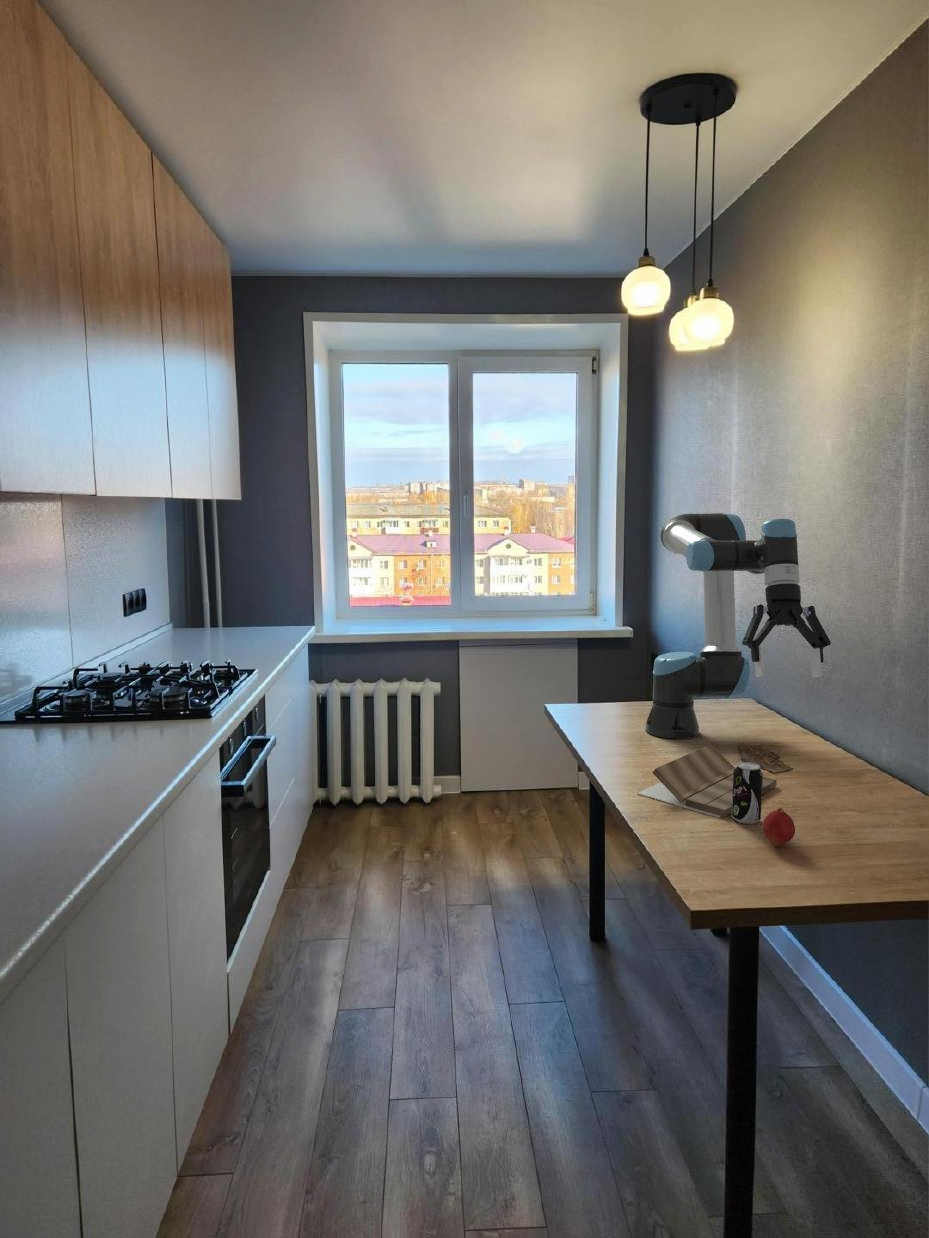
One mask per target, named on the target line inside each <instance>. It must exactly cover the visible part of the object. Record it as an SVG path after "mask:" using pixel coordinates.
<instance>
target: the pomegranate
mask: <svg viewBox="0 0 929 1238" xmlns="http://www.w3.org/2000/svg"><path fill="white" fill-rule="evenodd" d="M761 826H762V827H761V828H762V831H763V834H764V836H765V837H766V839H767V840H768V841H770V842H771V843H772V844H773V845H774V846H775V847H776V848H777V847H778V848H779V847H782V846H784V845H785V844H787V843H789V842H790V841H792V840H793V838H794V837H795V836H796V835H795V834H796V826H795V823H794V821H793V818H792V817H791V816H790V815H789V814H788V813H787V812H785V811H784V809H783V807H782V806H778V807H777V808H776V809H775V810H773V811H770V812H769V813H768V814H767V815H766V816H765V817H764V819H763V821H762V825H761Z"/></svg>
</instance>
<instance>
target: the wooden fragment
mask: <svg viewBox="0 0 929 1238" xmlns="http://www.w3.org/2000/svg"><path fill="white" fill-rule="evenodd" d="M738 748H739V749H738V750H739V757H740V760H742V761H744V762H751V763H755V764H758V765H759V766H760V768H762V769H764V770H766V771H770V772H772V773H773V774H774V775H775V774H783V773H786V772H789V771H791V770H793V767H792V766H789V765H788V764H786V763H784V761H783V760H779V758H780V757H781V756H780V755H779V754H777V753H775V752H772V751H771V749H767V748H765V747H762V746H756V745H752V744H747V743H743V742H739V743H738Z"/></svg>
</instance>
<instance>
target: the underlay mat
mask: <svg viewBox="0 0 929 1238" xmlns="http://www.w3.org/2000/svg"><path fill="white" fill-rule="evenodd" d="M636 794H637V795H639V796H643V797H645V798H649V797H651V798H650V799H652V798H654V799H653V800H656V799H657V800H656V801H659V800H660V802H663V803H668V804H670V803H671V804H670V805H673V804H674V806H677V807H680V808H684V809H688V810H691V811H694V812H698V813H700V814H701V813H702V814H704V815H707V816H711V817H715V818H719V819H721V818H723V816H720V815H716V814H713V813H709V812H706V811H702V810H699V809H695V808H692V807H688V806H686V801H684V802H682V803H680V802H679V800H678V799H677V798H676V797H675V796H674V795H673V794H672V793H671V792H670V791H669V790H668V789H667V788H666V787H665V786H664V785H663V784H662V783H661V782H660V781H659V782H657V783H656V784H654V785H652V786H649V787H647V788H645V789H643V790H641V791H639V792H637V793H636Z"/></svg>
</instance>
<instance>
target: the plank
mask: <svg viewBox="0 0 929 1238" xmlns="http://www.w3.org/2000/svg"><path fill="white" fill-rule="evenodd" d="M735 768H736V767H734V766H733V764H732V763H731V762H730V761H728V760H727V759H726V758H725V756H723V755H722V754H721V753H720V751H718V750H717V749H716V747H714V746H713V745H712V744H709V745H706V746H703V747H701V748H699V749H697V750H694V751H693V752H690V753H687V754H685V755H684V756H681V757H678V758H675V759H674V760H671V761H670V762H667V763H665V764H663V765H661V766H659V767H656V768H655V769H654V770H653V771H652V772H651V773H652V774H653V776H655V778H656V779H657V780H658V781H659V783H660V782H661V783H662V784H663V785H664V786H665V787H666V788H667V789H668V790H669V791H670V792H671V793H672V794H673V795H674V796H675V797H676V798H677V799H678V800H679V802H680V803H682V802H684V801H686V799H687V798H689V797H691V796H693V795H695V794H697V793H699V792H701V791H703V790H705V789H706V788H708V787H710V786H712V785H714V784H716V783H718V782H720V781H722V780H724V779H726V778H728V777H729V776H731V775H733V772H734V769H735Z"/></svg>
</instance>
